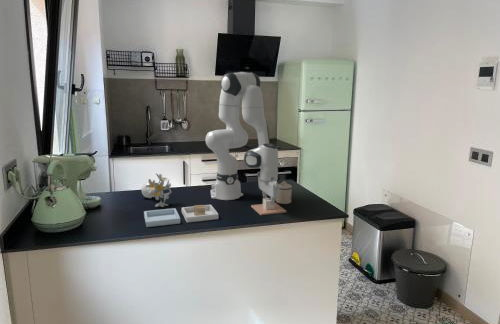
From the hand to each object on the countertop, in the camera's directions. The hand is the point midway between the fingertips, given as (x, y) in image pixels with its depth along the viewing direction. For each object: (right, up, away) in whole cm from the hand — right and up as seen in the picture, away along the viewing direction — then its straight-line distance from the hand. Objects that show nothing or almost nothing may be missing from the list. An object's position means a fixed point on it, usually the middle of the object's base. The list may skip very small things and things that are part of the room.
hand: (268, 201), depth 190 cm
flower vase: (-61, -2, +12) cm, 62 cm away
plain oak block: (-34, -5, -11) cm, 36 cm away
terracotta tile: (0, -4, +1) cm, 4 cm away
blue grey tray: (-51, -7, -16) cm, 54 cm away
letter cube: (0, -3, +1) cm, 3 cm away
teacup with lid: (+9, -1, +15) cm, 18 cm away
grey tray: (-34, -6, -10) cm, 36 cm away
